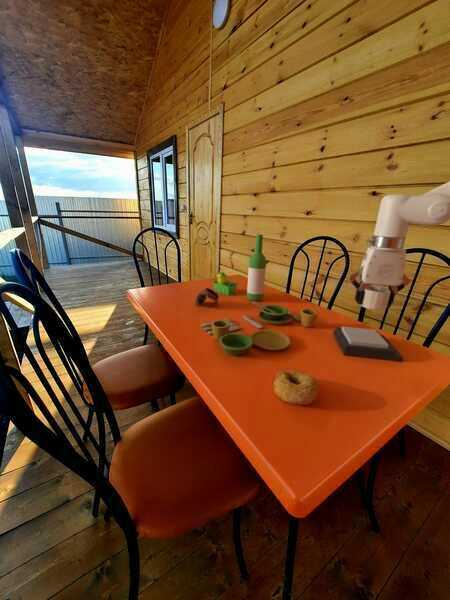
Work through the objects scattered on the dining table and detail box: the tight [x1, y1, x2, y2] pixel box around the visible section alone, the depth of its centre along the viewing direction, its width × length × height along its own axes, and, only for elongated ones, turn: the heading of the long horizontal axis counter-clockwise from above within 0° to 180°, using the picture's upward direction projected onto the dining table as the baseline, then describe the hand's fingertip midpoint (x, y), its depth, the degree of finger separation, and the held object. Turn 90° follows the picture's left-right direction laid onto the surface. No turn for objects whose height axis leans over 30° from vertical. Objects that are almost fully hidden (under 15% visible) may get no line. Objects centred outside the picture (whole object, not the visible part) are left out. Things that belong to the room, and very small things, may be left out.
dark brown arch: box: [194, 287, 220, 307], centre depth 111 cm, size 12×10×8 cm
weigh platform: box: [341, 326, 389, 349], centre depth 80 cm, size 10×10×2 cm
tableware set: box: [200, 301, 319, 357], centre depth 88 cm, size 41×28×6 cm
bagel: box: [273, 370, 320, 406], centre depth 58 cm, size 10×11×5 cm
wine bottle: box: [246, 233, 267, 302], centre depth 117 cm, size 8×8×30 cm
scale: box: [332, 326, 404, 363], centre depth 80 cm, size 16×14×3 cm
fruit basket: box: [212, 271, 239, 296], centre depth 128 cm, size 11×9×11 cm
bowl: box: [359, 284, 391, 311], centre depth 75 cm, size 7×7×6 cm
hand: (372, 303), depth 75 cm, fingers closed on bowl, 7 cm apart
